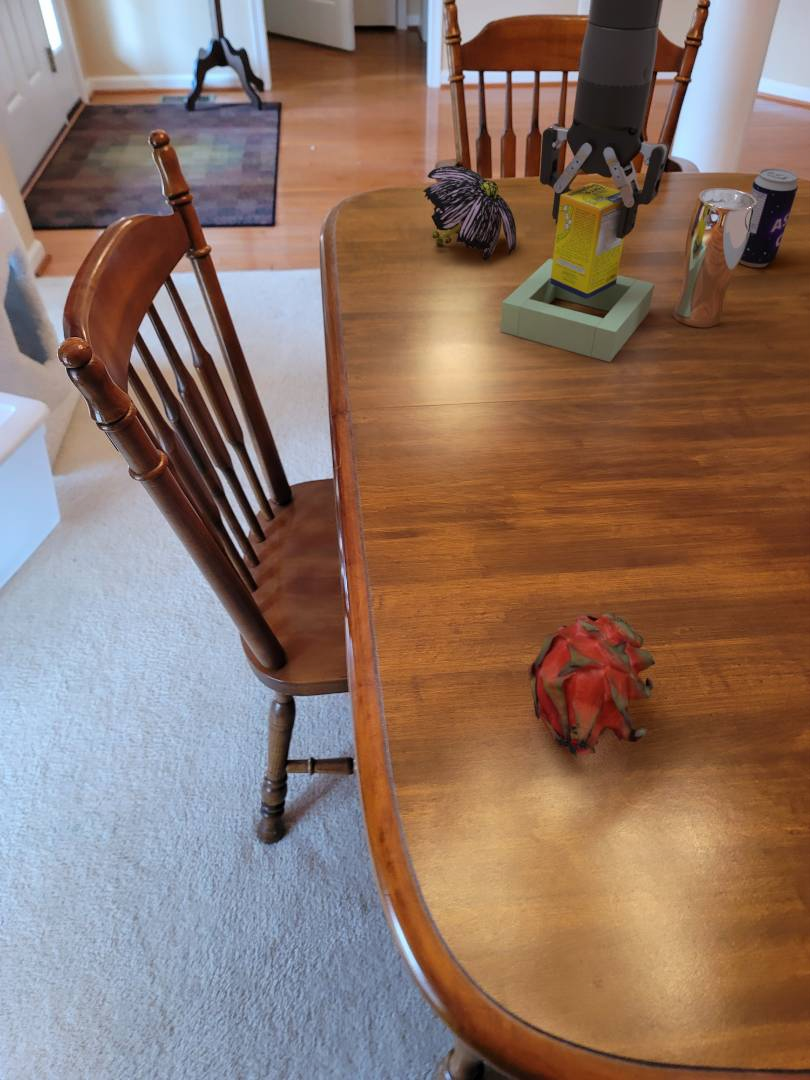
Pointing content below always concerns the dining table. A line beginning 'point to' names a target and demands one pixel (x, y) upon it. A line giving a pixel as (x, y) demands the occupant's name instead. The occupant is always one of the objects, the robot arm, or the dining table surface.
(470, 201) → the decorative flower
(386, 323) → the dining table surface
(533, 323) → the socket
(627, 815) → the dining table surface
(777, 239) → the beverage can
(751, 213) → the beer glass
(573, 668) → the dragon fruit
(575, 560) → the dining table surface
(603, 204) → the supplement box
